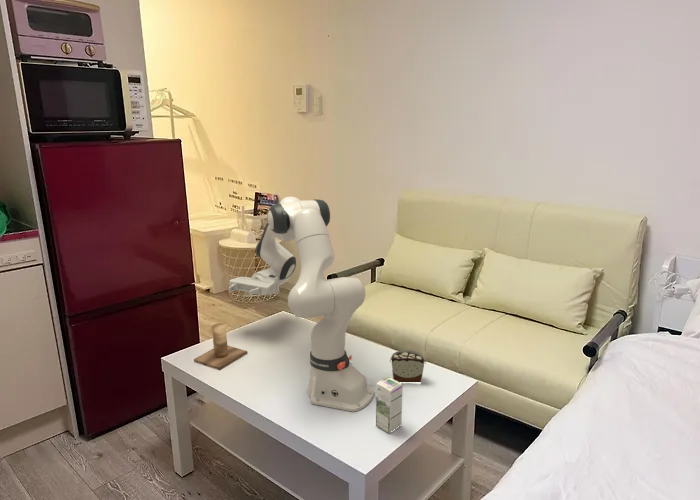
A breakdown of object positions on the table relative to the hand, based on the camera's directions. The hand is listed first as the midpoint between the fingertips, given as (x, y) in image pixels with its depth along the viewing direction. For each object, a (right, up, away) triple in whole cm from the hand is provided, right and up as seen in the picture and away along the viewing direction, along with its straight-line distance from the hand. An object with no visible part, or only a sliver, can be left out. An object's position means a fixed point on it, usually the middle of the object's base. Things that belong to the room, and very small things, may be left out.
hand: (239, 291), depth 196 cm
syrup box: (+54, -37, -45) cm, 80 cm away
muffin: (+63, -29, -19) cm, 72 cm away
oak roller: (-6, -24, -4) cm, 25 cm away
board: (-6, -25, -4) cm, 26 cm away
